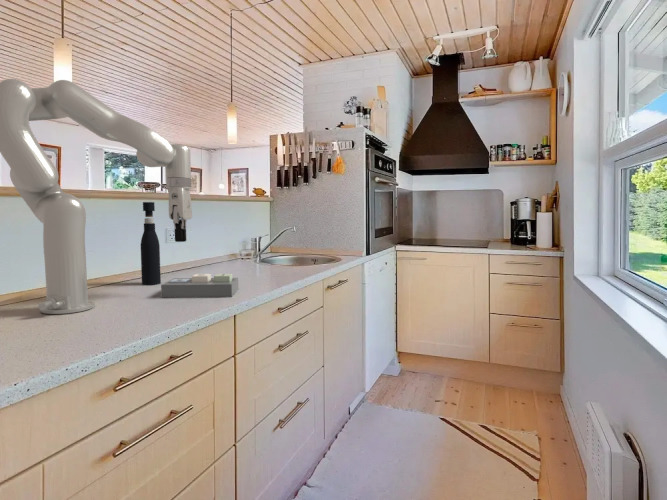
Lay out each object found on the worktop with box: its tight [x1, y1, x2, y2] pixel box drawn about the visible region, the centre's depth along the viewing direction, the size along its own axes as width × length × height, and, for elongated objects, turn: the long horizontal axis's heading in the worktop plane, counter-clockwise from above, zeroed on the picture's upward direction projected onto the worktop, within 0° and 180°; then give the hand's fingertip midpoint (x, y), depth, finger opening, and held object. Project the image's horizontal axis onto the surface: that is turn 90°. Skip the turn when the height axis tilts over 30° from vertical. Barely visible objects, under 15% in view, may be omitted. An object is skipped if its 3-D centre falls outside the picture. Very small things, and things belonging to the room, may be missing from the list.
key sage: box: [213, 273, 233, 283], centre depth 139 cm, size 5×5×3 cm
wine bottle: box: [140, 201, 162, 286], centre depth 155 cm, size 6×6×30 cm
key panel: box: [160, 277, 239, 299], centre depth 139 cm, size 13×22×4 cm, turn 94°
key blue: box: [169, 278, 190, 283], centre depth 138 cm, size 5×5×3 cm
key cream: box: [191, 273, 212, 283], centre depth 138 cm, size 5×5×3 cm
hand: (180, 241), depth 137 cm, fingers closed
